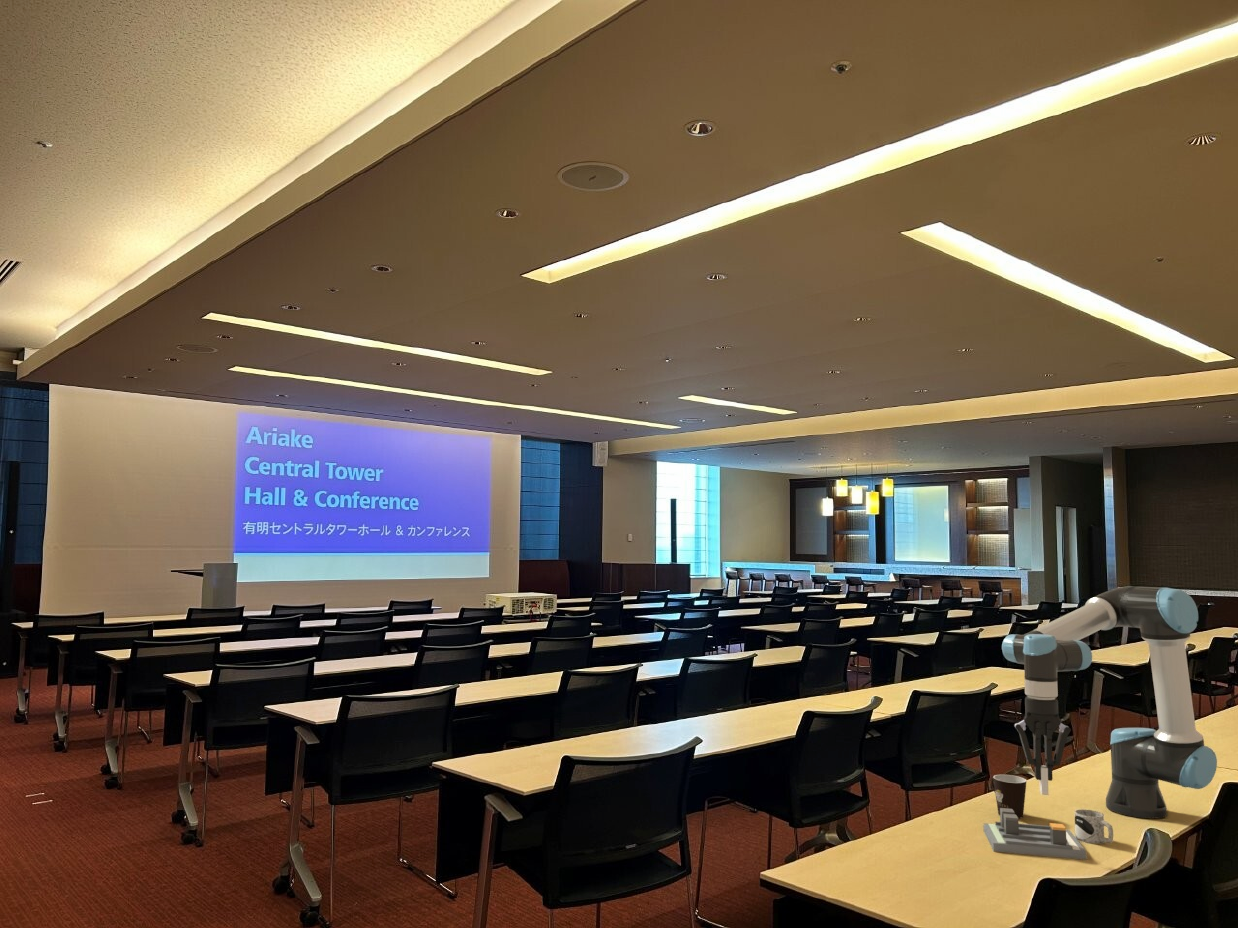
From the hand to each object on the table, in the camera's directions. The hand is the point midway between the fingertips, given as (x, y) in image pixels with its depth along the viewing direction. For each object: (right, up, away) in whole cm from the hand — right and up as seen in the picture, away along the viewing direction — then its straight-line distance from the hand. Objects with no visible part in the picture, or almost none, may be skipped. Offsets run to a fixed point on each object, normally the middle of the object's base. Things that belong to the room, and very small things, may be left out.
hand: (1044, 793), depth 221 cm
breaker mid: (-6, -13, +6) cm, 15 cm away
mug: (+17, -15, +7) cm, 24 cm away
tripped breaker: (+3, -12, -2) cm, 12 cm away
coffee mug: (+4, -17, +29) cm, 34 cm away
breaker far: (-5, -13, +10) cm, 17 cm away
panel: (-1, -15, +4) cm, 15 cm away
